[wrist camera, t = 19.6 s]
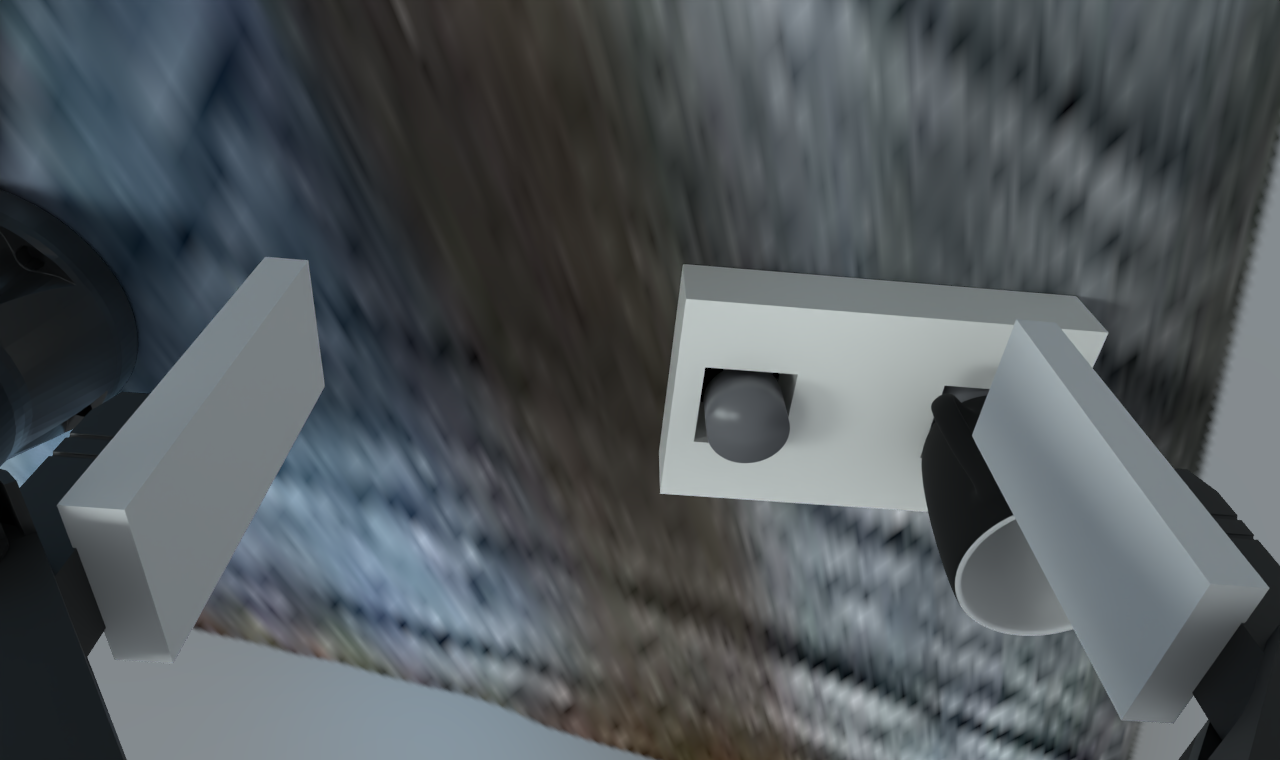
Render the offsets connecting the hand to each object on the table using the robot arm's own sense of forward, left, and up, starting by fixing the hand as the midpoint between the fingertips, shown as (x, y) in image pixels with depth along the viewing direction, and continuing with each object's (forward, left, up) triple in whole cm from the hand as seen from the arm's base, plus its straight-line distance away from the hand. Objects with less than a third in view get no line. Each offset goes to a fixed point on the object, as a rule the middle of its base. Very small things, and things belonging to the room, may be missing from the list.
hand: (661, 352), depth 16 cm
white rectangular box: (+14, -18, -29) cm, 37 cm away
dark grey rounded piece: (+7, -18, -26) cm, 32 cm away
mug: (+19, -18, -25) cm, 36 cm away
